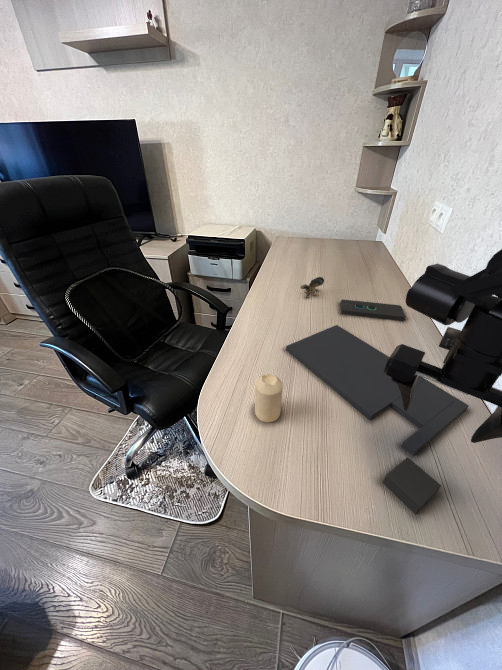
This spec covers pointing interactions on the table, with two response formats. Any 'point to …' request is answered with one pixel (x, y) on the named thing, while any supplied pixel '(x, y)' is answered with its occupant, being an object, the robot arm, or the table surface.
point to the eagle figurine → (312, 286)
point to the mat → (375, 383)
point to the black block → (411, 484)
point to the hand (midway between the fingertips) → (437, 423)
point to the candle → (268, 397)
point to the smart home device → (372, 310)
